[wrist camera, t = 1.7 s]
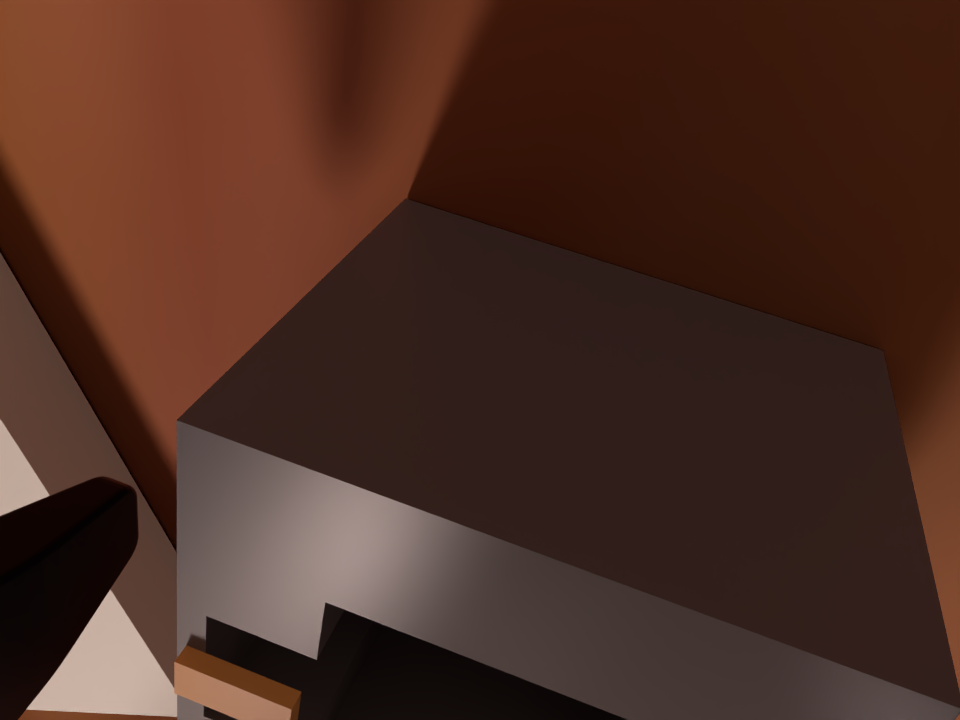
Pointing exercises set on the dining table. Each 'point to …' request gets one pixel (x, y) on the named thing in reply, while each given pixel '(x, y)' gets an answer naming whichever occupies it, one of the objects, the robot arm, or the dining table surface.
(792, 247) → the dining table surface
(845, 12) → the dining table surface
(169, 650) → the base plate
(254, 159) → the dining table surface
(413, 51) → the dining table surface
